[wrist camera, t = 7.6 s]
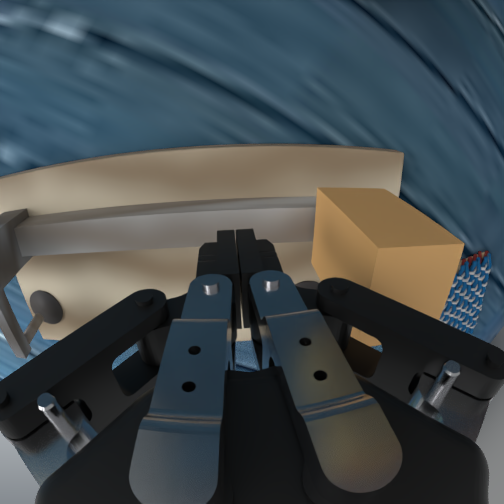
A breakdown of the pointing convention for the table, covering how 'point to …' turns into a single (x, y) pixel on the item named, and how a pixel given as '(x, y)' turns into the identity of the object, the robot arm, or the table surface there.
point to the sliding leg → (384, 249)
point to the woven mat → (467, 292)
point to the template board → (170, 183)
